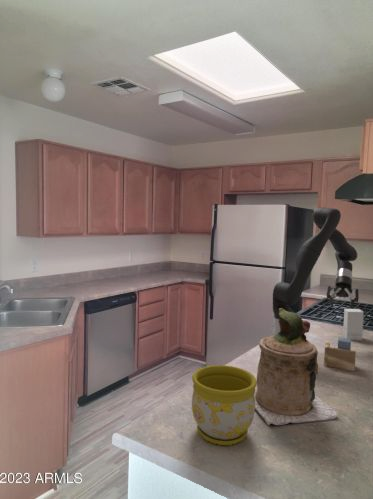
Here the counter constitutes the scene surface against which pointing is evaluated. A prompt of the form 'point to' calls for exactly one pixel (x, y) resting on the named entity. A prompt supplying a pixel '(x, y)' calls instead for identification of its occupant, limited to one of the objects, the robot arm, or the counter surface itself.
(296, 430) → the counter surface
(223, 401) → the flowerpot
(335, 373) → the counter surface
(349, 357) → the oak corner bracket
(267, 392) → the cookie jar
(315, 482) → the counter surface
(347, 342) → the slate block
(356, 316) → the skincare box
